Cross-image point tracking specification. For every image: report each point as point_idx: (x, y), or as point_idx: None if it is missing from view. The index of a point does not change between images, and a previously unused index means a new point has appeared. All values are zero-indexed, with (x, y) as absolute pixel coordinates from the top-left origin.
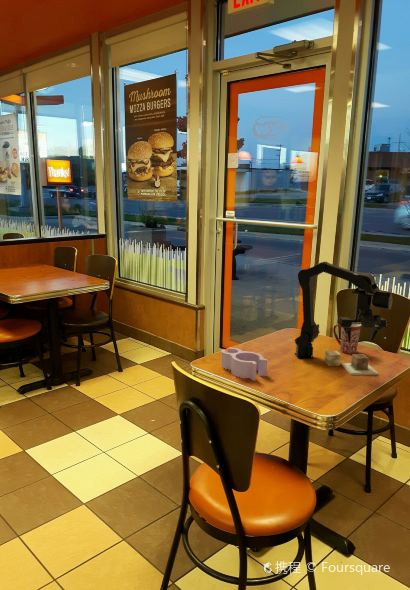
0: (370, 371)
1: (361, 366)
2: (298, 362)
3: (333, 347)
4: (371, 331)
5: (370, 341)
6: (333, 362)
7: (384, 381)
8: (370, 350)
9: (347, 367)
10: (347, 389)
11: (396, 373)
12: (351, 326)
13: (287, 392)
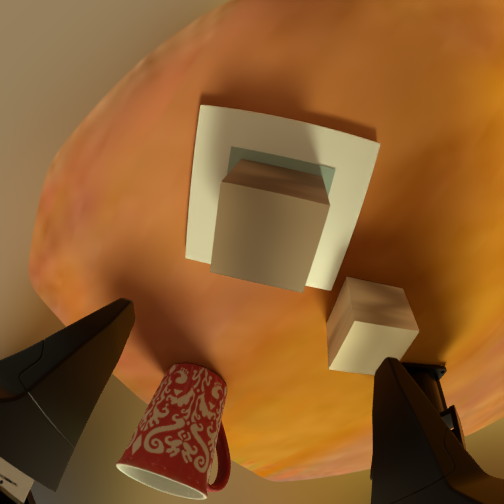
0: (236, 132)
1: (284, 174)
2: (474, 338)
3: (233, 413)
4: (70, 415)
5: (130, 313)
6: (384, 295)
7: (228, 7)
8: None
9: (345, 227)
10: (491, 7)
11: (96, 115)
12: (173, 479)
13: None
